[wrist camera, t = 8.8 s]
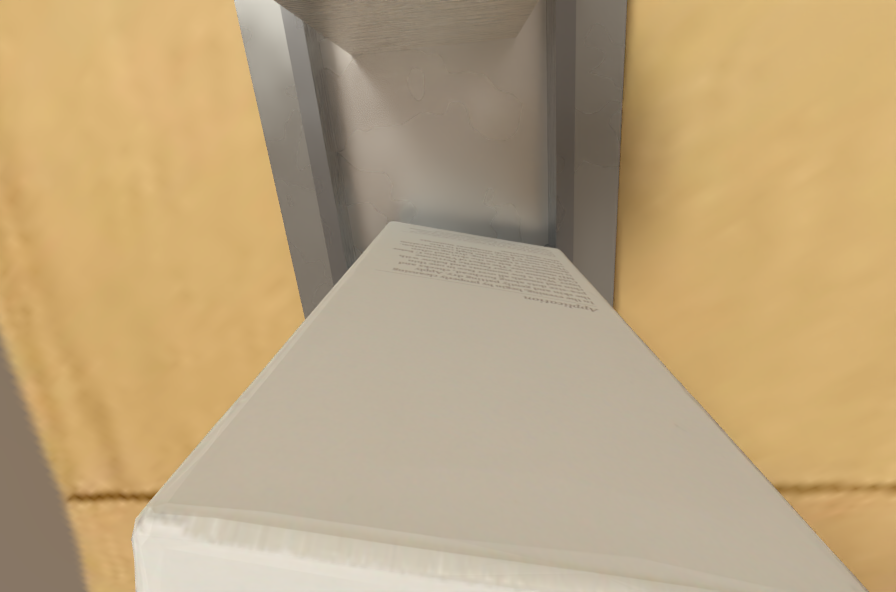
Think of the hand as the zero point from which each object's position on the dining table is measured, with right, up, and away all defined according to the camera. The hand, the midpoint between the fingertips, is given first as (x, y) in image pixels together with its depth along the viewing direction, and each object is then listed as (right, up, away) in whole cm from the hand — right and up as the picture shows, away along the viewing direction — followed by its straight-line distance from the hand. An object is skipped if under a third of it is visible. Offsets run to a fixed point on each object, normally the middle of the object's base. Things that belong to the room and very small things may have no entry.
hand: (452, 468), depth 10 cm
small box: (0, +3, +7) cm, 8 cm away
